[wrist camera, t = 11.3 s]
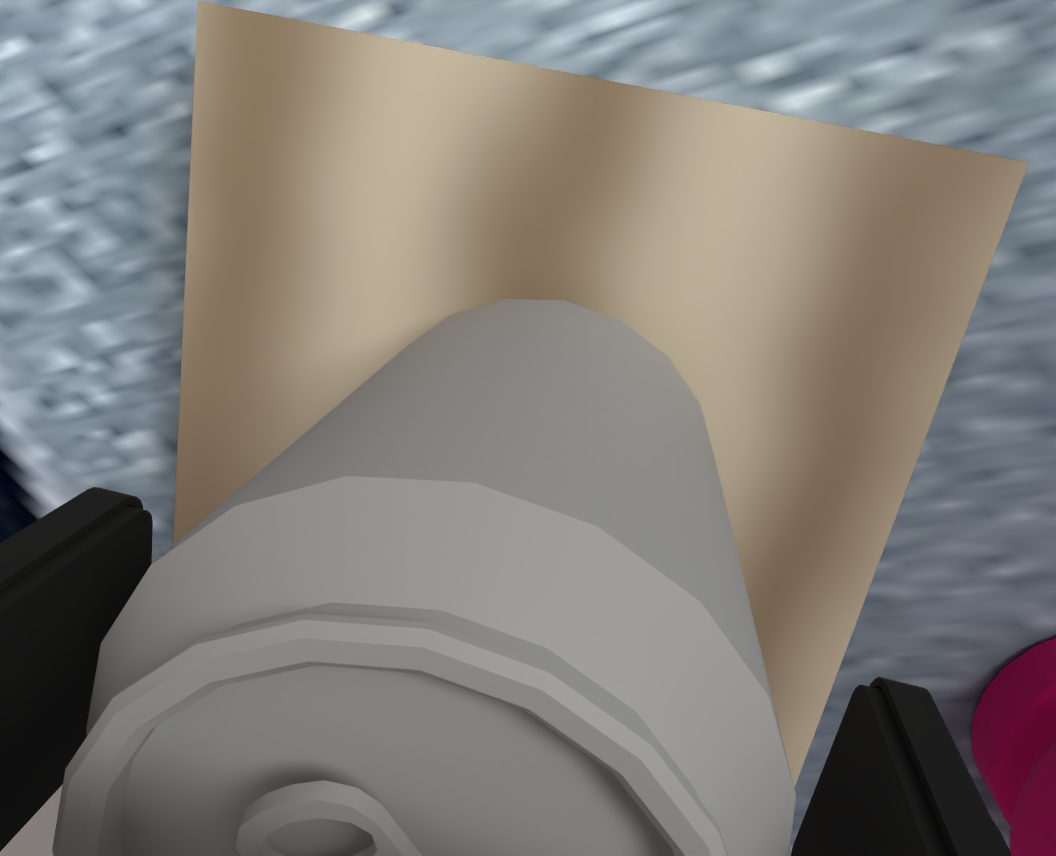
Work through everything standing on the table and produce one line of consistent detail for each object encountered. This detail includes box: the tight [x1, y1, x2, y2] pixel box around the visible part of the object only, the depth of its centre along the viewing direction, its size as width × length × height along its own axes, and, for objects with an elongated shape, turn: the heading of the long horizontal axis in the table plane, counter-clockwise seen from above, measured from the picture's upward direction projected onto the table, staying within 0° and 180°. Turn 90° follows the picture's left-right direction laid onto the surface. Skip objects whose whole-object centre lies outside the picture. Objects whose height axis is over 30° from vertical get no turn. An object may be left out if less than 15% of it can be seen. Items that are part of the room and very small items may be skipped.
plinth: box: [173, 1, 1028, 788], centre depth 20 cm, size 16×16×3 cm
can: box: [53, 299, 796, 856], centre depth 13 cm, size 8×8×12 cm
